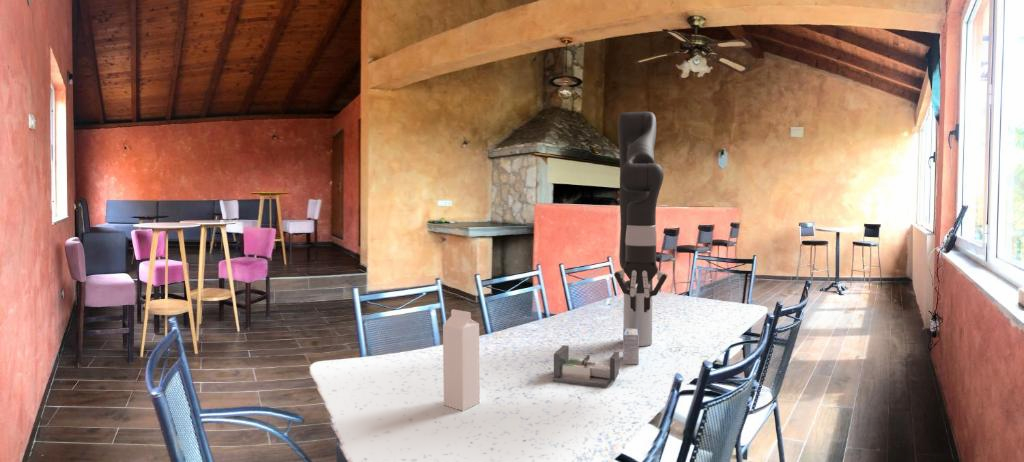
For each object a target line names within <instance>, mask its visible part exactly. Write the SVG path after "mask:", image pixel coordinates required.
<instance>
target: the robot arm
mask: <svg viewBox="0 0 1024 462" xmlns="http://www.w3.org/2000/svg"><path fill="white" fill-rule="evenodd" d="M617 137H618V149H619V151H618V153H619V212H620V213H619V214H620V230H619V231H620V235H619V256H618V257H619V258H618V259H619V265H620V268H621V270H619V271H616V272H614V274H613V275H614V277H615V279H616V282H617V283H618V285H619V287H620V289H621V292H622V293H623V319H622V320H623V326H622V327H623V328H622V329H638V336H639V347H647V346H650V345H652V344H653V297H654V296H657V295H658V293H659V292H660V290H661V288H662V286H663V285H664V283H665V281H666V279H667V278H668V274H667V273H665V272H664V273H663V272H662V271H661V270H659V267H658V265H657V230H656V225H657V224H656V213H657V212H656V211H657V203H658V199H659V195H660V191H661V189H662V185H663V181H664V176H665V175H664V169H663V167H662V166H661V165H660V164H658V163H655V153H654V151H655V145H656V140H657V139H656V138H657V118H656V115H655V114H654V112H651V111H629V112H622V113H620V115H619V116H618V121H617ZM656 275H657V278H656V279H657V281H658V282H657V283H656V285H655V287H654V289H653V279H654V277H655V276H656ZM625 276H626V277H627V278H628V279H629V280H626V281H625V279H624V278H625Z"/></svg>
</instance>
